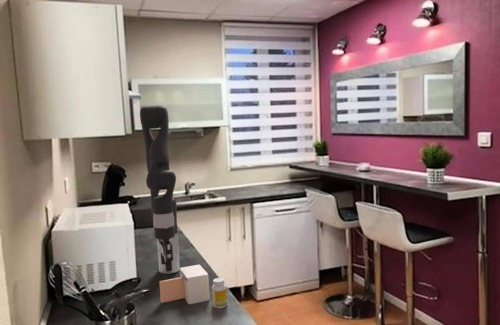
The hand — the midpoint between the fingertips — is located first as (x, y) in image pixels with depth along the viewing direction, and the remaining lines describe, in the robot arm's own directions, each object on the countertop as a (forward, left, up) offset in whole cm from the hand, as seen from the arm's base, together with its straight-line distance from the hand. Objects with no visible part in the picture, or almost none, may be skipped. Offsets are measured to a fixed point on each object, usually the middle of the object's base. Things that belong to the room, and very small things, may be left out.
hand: (166, 267), depth 157 cm
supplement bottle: (+12, +16, -13) cm, 24 cm away
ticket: (0, +4, -13) cm, 14 cm away
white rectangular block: (0, +10, -13) cm, 17 cm away
